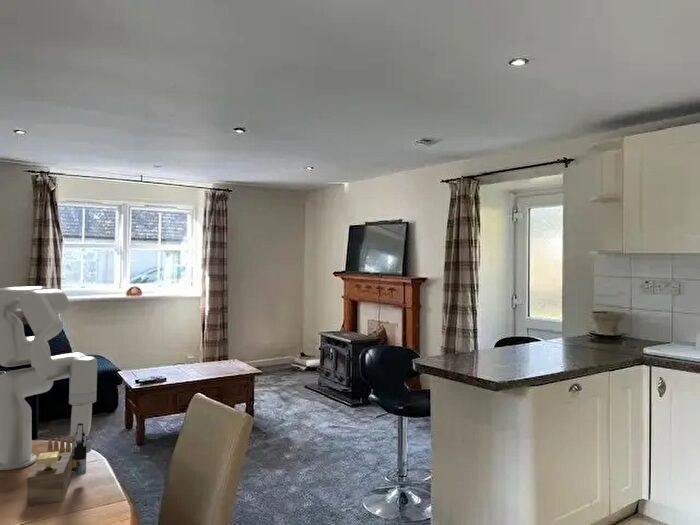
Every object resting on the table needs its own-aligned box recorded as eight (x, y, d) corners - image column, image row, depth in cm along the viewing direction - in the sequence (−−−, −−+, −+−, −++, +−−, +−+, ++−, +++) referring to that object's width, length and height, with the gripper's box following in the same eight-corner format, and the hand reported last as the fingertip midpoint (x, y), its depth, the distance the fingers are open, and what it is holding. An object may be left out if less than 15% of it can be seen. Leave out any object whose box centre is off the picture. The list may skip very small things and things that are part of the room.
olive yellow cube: (40, 468, 154) (40, 453, 154) (59, 466, 156) (59, 451, 156) (36, 475, 149) (36, 459, 149) (56, 472, 151) (56, 457, 151)
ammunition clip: (46, 477, 167) (46, 439, 167) (46, 475, 168) (46, 437, 168) (83, 469, 173) (84, 433, 173) (83, 467, 174) (83, 431, 174)
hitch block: (39, 480, 164) (39, 455, 164) (71, 476, 167) (71, 451, 167) (27, 506, 147) (27, 477, 147) (63, 500, 150) (63, 473, 150)
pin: (72, 471, 163) (73, 440, 163) (91, 469, 165) (92, 439, 165) (69, 478, 158) (70, 446, 158) (89, 475, 160) (90, 445, 160)
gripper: (73, 390, 168) (71, 447, 168) (64, 405, 152) (63, 467, 152) (98, 389, 170) (97, 444, 170) (93, 404, 154) (92, 465, 154)
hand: (81, 455), depth 161 cm, fingers closed on pin, 5 cm apart
